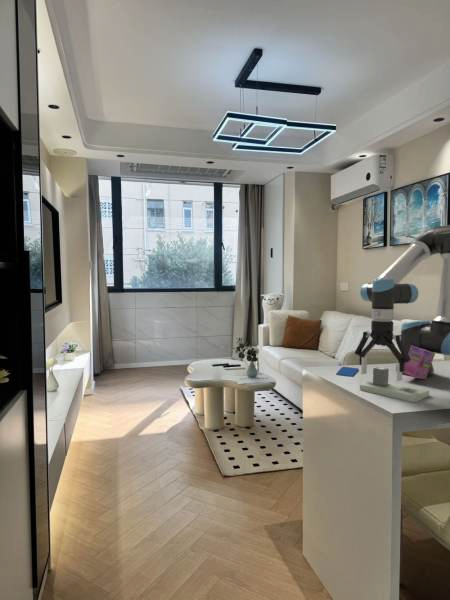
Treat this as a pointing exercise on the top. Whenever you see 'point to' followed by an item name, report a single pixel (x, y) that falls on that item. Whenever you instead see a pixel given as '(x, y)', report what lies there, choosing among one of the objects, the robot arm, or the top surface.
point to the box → (418, 362)
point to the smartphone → (347, 371)
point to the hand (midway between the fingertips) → (380, 377)
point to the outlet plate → (396, 391)
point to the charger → (380, 376)
